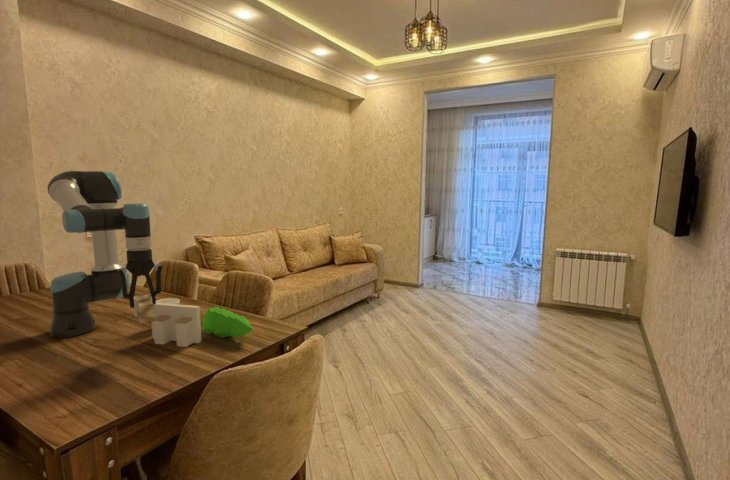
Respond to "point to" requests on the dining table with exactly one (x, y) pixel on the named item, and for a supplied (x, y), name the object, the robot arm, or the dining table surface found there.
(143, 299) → the rail
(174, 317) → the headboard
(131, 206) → the robot arm
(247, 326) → the decorative tree
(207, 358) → the dining table surface
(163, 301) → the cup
